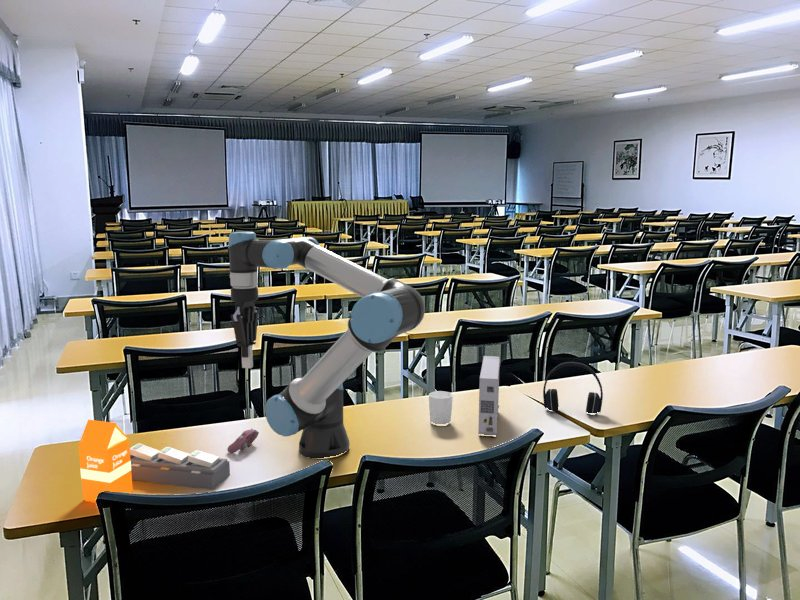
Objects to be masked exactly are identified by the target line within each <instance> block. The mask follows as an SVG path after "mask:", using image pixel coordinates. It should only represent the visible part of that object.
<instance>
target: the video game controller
mask: <svg viewBox="0 0 800 600" xmlns="http://www.w3.org/2000/svg"><path fill="white" fill-rule="evenodd" d="M259 434H260V432H259V431H257V430H256V429H253V428H250V429H247V430H243V432H242V433H241V434H240V435H239V436H238V437H237V438H236V439H235V440H234V442H232V443H231V444H229V445H228V447H227V452H228V453H229V454H235V453H236V452H238V451H241V452H243V451H245V450H246V448H249V447H250V446H252V445H253V442H255V440H256V439H257V437H258V436H259Z"/></svg>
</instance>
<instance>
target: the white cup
mask: <svg viewBox="0 0 800 600" xmlns="http://www.w3.org/2000/svg"><path fill="white" fill-rule="evenodd" d="M453 397H454V396H453V393H452V392H450V391H443V390H438V391H436V390H435V391H431V392H430V393H428V402H429V404H428V406H429V408H428V409H429V420H430V421H431V422H433V423H435V424H446V423H449V422H450V421H451V422H452V419H451V418H452V409H453Z"/></svg>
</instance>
